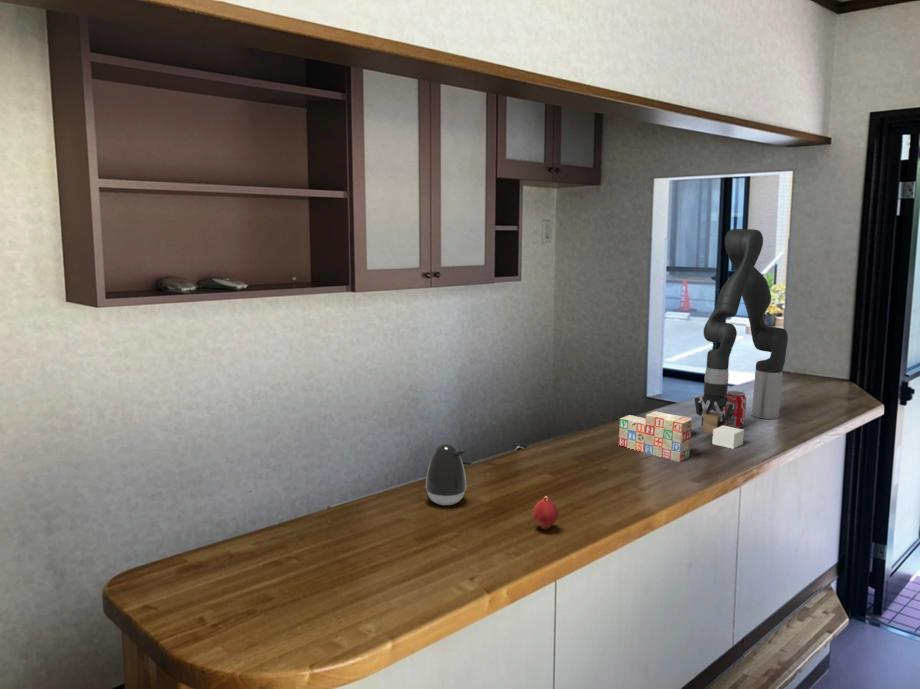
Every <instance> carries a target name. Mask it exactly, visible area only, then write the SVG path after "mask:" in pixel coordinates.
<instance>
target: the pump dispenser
mask: <svg viewBox="0 0 920 689" xmlns="http://www.w3.org/2000/svg"><path fill="white" fill-rule="evenodd" d="M465 454H466V451H465V449H461V450H458V449H457V447H456V446H455V445H453V444H451V443H448V442H445V443H442V444H440V445H438V447H437V448H436V449H435V450H434V453H433V454H432V456H431V459H430V462H429V465H428V469H427V473H426V479H425V490H426V492H427V496H428V498H429V499H430V500H431V501H432V502H434V503H435V504H437V505H440V506H446V505H447V506H453V505H455V504H457V503H459V502H460V501H461V500H462V499H463V497H464V496H465V492H466V490H467V479H466V478H467V477H466V471H465V466H464V464H463V460H462V457H461V456H463V455H465Z"/></svg>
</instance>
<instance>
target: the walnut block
mask: <svg viewBox="0 0 920 689" xmlns="http://www.w3.org/2000/svg"><path fill="white" fill-rule="evenodd" d="M719 421H720V420H719V416H718V415H717V412H713V411H710V412H709V413H706V414H703V426H701V427H702V428H701V429H702V431H701V432H703V433H707V434H712V435H713V429H716V428H718V427H719Z"/></svg>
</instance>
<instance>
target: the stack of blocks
mask: <svg viewBox="0 0 920 689" xmlns="http://www.w3.org/2000/svg"><path fill="white" fill-rule="evenodd" d="M681 416H682V415H678V416H677V415H676V414H671V413H664V412H660V411H657V410H656V411H653V412H651V413H647V414H646V415H645V417H642V416H641V417H640V416H636V415H631V414H629V415H625V416H623V417H620V418H619V426H618V427H619V430H618V446H619V445H620V446H619V447H621V446H624V447H627V448H626V449H628V448H630V449H629V450H631V449H634V450H633V451H636V450H637V452H639V451H641V452H640V453H643V452H644V453H643V454H647V453H648V455H651V456H655V455H656V457H658V458H659V457H660V458H662V457H663V458H662V459H667V460H671V461H674V462H678V463H681V462H683V461H685V460H687V459H689V458H690V448H691V440H692V439H691V438H692V429H691V427H692V426H693V418H692V419H688V418H683V417H681ZM624 447H623V448H624Z"/></svg>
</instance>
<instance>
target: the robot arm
mask: <svg viewBox="0 0 920 689" xmlns="http://www.w3.org/2000/svg"><path fill="white" fill-rule="evenodd" d="M725 234H726V235H725V237H724V246H725V250H726V251H725V252H726V254H727V256H728V259H729V261H730V263H731V266H732V268H733V271H734V272H733V273H732V275H731V276H730V277H729V278H728V279H727V280H726V281H725V283H723V286H722V287H721V289H720V292H719V294H718V297H717V302H716V305H715V308H714V310H713V311H712V313H711V314H710V316H709V317H708V319H707V321H706V323H705V324H704V328H703V337H704V339H705V340H706V341H707V342H710V343H716V344H717V343H718V344H720V345H719V347H718V348H716V349H710V350H709V351H707V355H706V367H705V371H704V372H705V373H704V383H703V384H704V385H703V395H702V396H697V397H694V406H695V412H696V415H697V416H700V418H701V427H703V414H706V413H709V412H712V411H714V412H715V413H717V415H718V416H719V420H720V421H719V427H721V426H723V425H724V426H726V425H725V421H727V420H730V419H731V417H732V414H733V411H734V408H735V403H730V402H728V400H727V394H728V387H729V374H730V373H729V364H730V356H731V354H732V350H733V347H734V345H735V342H736V340H737V335H738V332H737V328H736V326H735V325H734V324H733V323H731V322H724V321H725V319H727V318H733V317H736V316H737V314H738V311H739V307H740V304H741V299H742V300H743V303H744V306H745V310H746V313H747V317H748V320H749V326H750V334H751V338H752V344H753V345H754V348H755V349H757V350H758V351H761V352H766V353H767V352H768V353H770V356H769V358H767V359H762V360H761V359H760V360H759V361H758V360H757V362H756V363H755V372H754V383H753V384H754V385H753V386H754V387H753V394H752V395H753V397H752V408H751V415H752V416H753V417H754V418H759V419H766V420H774V419H775V420H776V419H778V418H779V416H780V415H779V414H780V404H781V396H782V395H781V394H782V383H783V372H784V365H785V362H786V355H787V350H788V349H787V348H788V343H789V342H788V339H789V337H788V336H789V335H788V332H787V330H786V329H785V328H782V327H776V326H770V325H769V326H768V325H767V324H766V322H765V318H764V317H765V316H764V315H765V314H766V313H767V310H768V308H769V306H770V304H771V302H772V293H771V290H770V285H769V283H768V281H767V279H766V278H765V277H764V274H762V273H761V272H760V271H759V270H758V269H757V268H756V267H755V265H756V264H757V261H758V259H759V257H760V255H761V252H762V250H763V245H764V236H763V233H762V232H761V231H760V230H758V229H753V228H752V229H751V228H749V229H748V228H744V229H743V228H733V229H729V230H728V231H727V233H725ZM703 403H704V407H703ZM725 405H727V409H728V410H727V413H726V416H725V410H724V406H725Z"/></svg>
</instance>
